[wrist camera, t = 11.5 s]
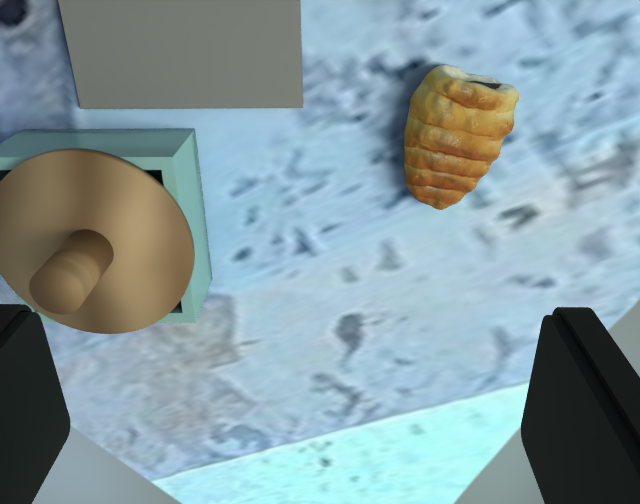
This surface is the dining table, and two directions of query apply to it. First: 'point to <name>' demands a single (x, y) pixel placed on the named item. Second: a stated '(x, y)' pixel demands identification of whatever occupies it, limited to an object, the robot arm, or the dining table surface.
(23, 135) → the green square box
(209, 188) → the dining table surface
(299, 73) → the mat
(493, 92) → the pastry
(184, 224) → the lid
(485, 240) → the dining table surface
